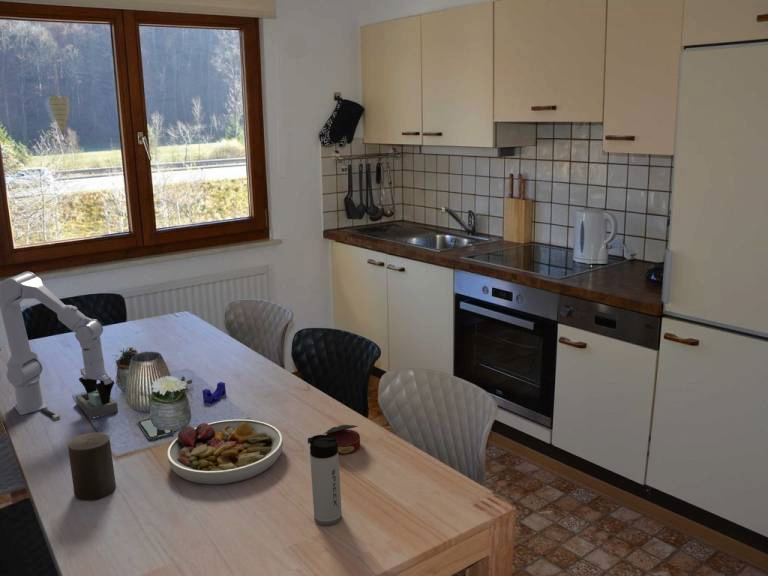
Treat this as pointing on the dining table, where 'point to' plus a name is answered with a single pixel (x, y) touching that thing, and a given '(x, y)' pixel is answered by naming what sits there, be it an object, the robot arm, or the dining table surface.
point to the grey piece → (96, 411)
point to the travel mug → (325, 479)
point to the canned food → (345, 439)
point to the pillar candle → (91, 466)
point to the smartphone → (153, 430)
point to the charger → (94, 399)
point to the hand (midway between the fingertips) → (99, 400)
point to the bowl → (224, 451)
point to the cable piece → (51, 414)
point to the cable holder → (216, 395)
